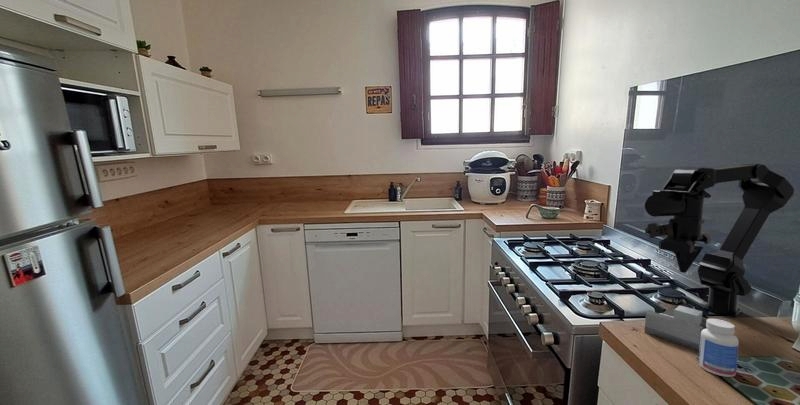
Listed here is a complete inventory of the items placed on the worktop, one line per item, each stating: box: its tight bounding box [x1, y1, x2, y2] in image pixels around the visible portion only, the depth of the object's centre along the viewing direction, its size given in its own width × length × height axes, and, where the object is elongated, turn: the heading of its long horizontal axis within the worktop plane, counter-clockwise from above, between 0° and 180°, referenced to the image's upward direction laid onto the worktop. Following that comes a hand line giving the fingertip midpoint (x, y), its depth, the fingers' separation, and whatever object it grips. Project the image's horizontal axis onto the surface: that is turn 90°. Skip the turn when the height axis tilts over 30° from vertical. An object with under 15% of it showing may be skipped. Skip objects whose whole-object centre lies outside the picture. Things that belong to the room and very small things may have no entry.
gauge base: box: [644, 308, 708, 352], centre depth 79 cm, size 17×10×5 cm, turn 124°
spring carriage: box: [658, 305, 703, 325], centre depth 81 cm, size 4×7×3 cm, turn 34°
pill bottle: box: [698, 318, 740, 378], centre depth 64 cm, size 6×5×10 cm
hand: (683, 272), depth 86 cm, fingers closed
